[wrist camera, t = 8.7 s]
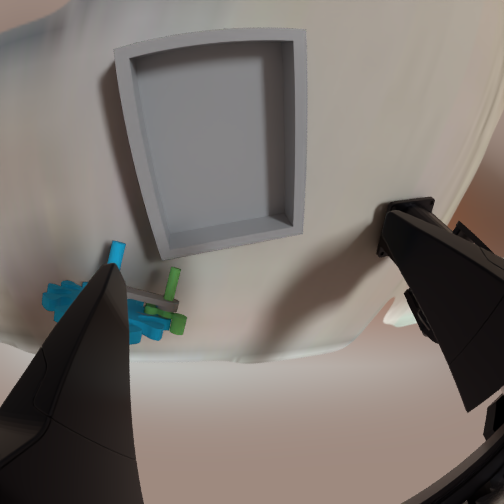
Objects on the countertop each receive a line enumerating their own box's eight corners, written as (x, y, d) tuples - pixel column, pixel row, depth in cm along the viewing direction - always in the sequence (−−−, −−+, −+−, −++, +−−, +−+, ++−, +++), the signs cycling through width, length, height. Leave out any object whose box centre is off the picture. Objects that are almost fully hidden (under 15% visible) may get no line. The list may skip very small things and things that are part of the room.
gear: (63, 287, 21) (19, 324, 12) (75, 224, 21) (31, 226, 12) (174, 317, 25) (190, 369, 16) (190, 255, 25) (213, 276, 16)
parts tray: (290, 32, 14) (305, 29, 12) (291, 216, 23) (302, 233, 21) (122, 51, 12) (113, 49, 10) (162, 240, 21) (161, 260, 20)
